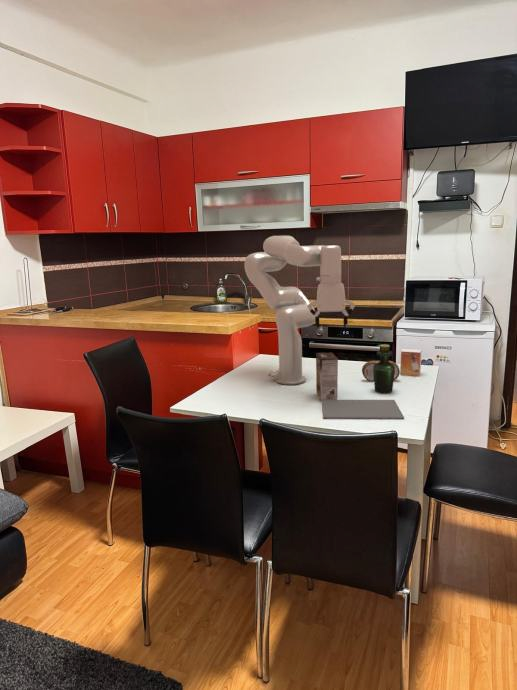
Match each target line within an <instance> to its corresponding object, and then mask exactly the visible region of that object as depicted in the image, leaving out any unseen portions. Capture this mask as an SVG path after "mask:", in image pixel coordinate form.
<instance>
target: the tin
mask: <svg viewBox="0 0 517 690" xmlns="http://www.w3.org/2000/svg"><path fill="white" fill-rule="evenodd" d="M378 362H380V360H369V361H366V363H364V364H363V366H362V368H361V373H362V375H363V377H364V379H366V381H369V382H374V371H373V366H374V365H375V364H376V363H378ZM388 362H390V363H392V364H393V365H394V367H395V373H394V381H396V380H397V379H398V378H399V376H400V367H399V365H398V364H397V363H396V362H395V361H392V360H388Z"/></svg>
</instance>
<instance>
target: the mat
mask: <svg viewBox="0 0 517 690" xmlns="http://www.w3.org/2000/svg"><path fill="white" fill-rule="evenodd" d="M321 405H322V409H321V410H322V416H323V420H405V416H404V415H403V413H402V411H401V409H400V407H399V406H398V403H397V402H396V400H395V399H337V400H322V401H321Z"/></svg>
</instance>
